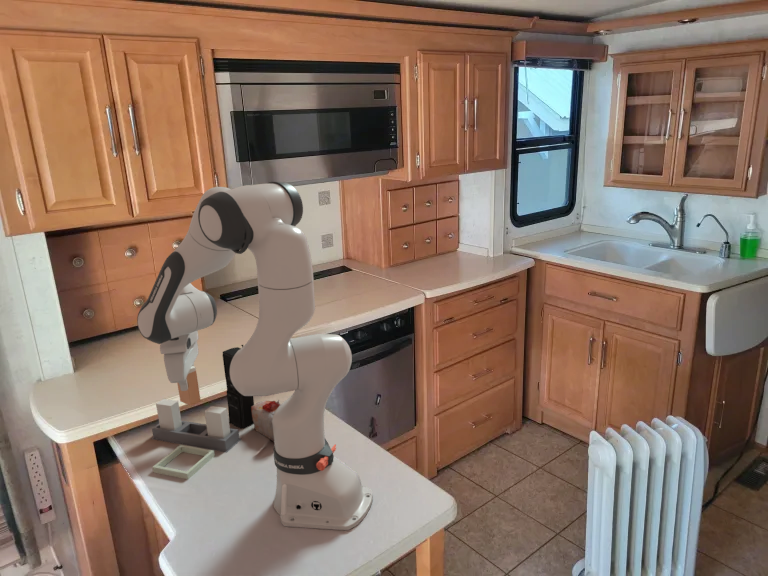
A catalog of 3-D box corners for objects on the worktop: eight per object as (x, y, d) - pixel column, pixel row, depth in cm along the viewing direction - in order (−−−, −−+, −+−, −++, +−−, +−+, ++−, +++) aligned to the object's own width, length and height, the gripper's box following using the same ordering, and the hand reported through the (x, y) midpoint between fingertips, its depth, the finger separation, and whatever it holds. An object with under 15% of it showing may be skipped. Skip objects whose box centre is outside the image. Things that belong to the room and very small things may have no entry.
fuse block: (242, 441, 155) (237, 405, 152) (227, 455, 149) (222, 418, 146) (168, 429, 163) (162, 394, 160) (151, 442, 157) (144, 406, 154)
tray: (215, 459, 147) (214, 450, 147) (188, 482, 138) (187, 473, 137) (182, 452, 151) (180, 444, 150) (154, 475, 141) (152, 466, 141)
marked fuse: (200, 401, 152) (195, 367, 149) (191, 405, 150) (185, 371, 147) (190, 397, 155) (184, 363, 152) (180, 401, 153) (174, 367, 150)
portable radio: (226, 424, 165) (215, 344, 158) (243, 416, 169) (233, 337, 162) (242, 432, 160) (231, 350, 153) (259, 423, 164) (250, 343, 157)
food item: (249, 431, 160) (245, 400, 158) (273, 421, 166) (269, 390, 163) (278, 449, 151) (274, 415, 148) (301, 436, 156) (298, 404, 154)
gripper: (176, 323, 157) (184, 369, 161) (157, 350, 137) (166, 402, 141) (200, 321, 158) (206, 367, 161) (184, 348, 138) (192, 399, 142)
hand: (187, 384), depth 151 cm, fingers closed on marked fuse, 6 cm apart
